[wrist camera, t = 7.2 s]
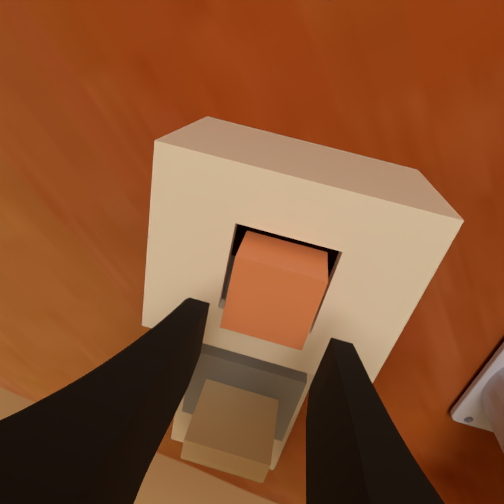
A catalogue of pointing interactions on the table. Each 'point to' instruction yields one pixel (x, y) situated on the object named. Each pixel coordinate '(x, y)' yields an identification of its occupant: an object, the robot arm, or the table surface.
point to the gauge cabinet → (292, 234)
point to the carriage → (238, 411)
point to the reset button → (275, 290)
